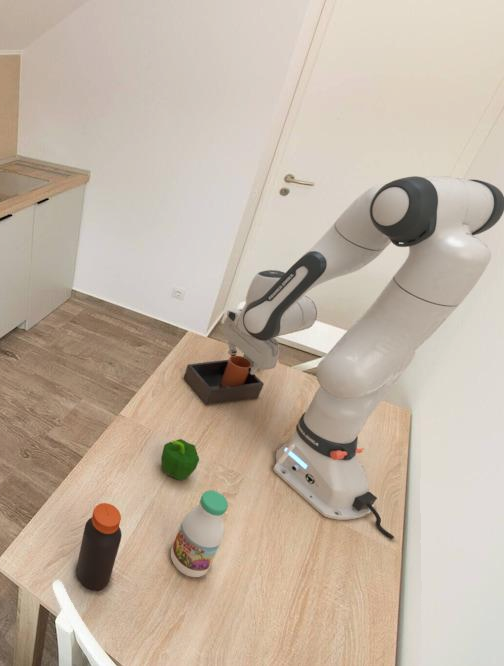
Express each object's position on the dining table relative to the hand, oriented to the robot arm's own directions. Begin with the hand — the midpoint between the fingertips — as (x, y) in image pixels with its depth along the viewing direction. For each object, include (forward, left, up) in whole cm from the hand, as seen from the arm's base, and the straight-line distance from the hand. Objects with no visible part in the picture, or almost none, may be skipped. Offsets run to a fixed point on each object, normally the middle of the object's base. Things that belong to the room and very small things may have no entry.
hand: (241, 363), depth 141 cm
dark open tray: (+1, +4, -9) cm, 10 cm away
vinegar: (-47, +64, -10) cm, 80 cm away
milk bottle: (-48, +43, -10) cm, 65 cm away
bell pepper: (-26, +34, -10) cm, 44 cm away
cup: (+1, 0, -9) cm, 9 cm away
